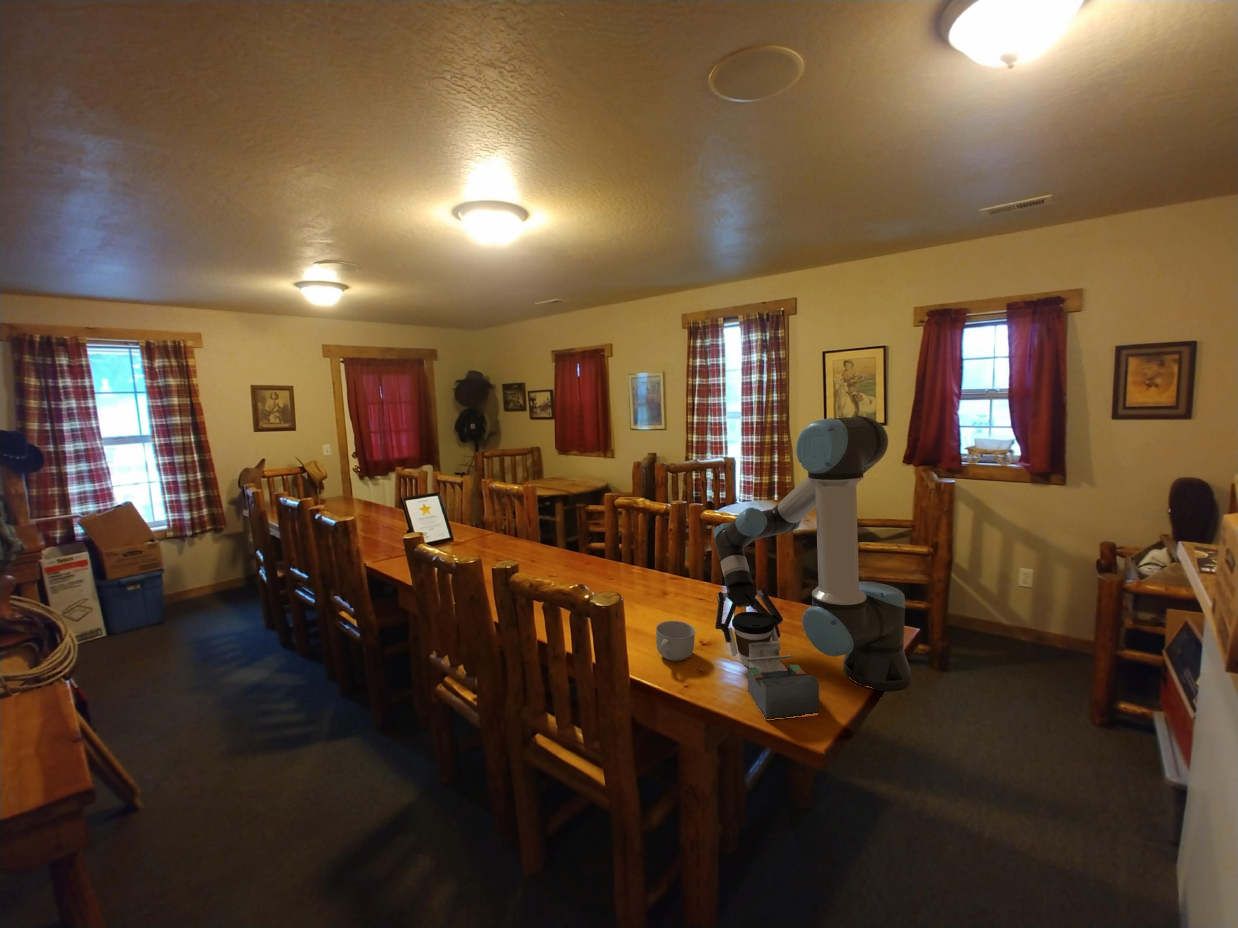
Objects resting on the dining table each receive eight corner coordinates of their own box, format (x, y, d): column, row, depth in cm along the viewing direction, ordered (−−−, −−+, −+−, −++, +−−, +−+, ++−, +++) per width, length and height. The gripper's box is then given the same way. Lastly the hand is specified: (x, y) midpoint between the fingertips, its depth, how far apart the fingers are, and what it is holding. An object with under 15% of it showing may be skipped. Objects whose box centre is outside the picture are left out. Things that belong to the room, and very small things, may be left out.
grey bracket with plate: (742, 673, 128) (741, 643, 127) (784, 669, 129) (784, 639, 128) (750, 687, 122) (750, 656, 121) (794, 683, 123) (795, 652, 122)
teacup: (670, 642, 149) (669, 616, 148) (703, 653, 142) (702, 625, 141) (641, 662, 138) (640, 634, 137) (675, 675, 131) (674, 645, 130)
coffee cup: (779, 672, 131) (779, 627, 129) (736, 673, 131) (736, 629, 129) (768, 651, 142) (767, 609, 140) (728, 652, 142) (727, 611, 140)
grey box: (747, 691, 123) (747, 660, 122) (795, 686, 124) (795, 655, 123) (765, 721, 112) (765, 686, 111) (818, 715, 113) (818, 681, 112)
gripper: (772, 577, 150) (795, 653, 137) (694, 583, 148) (710, 660, 135) (779, 565, 144) (804, 643, 131) (698, 571, 142) (715, 651, 129)
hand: (756, 652), depth 133 cm, fingers closed on coffee cup, 11 cm apart
